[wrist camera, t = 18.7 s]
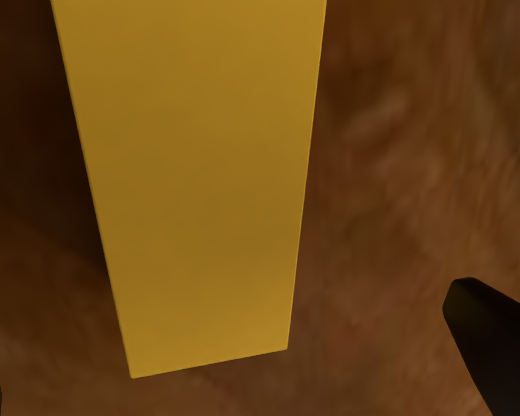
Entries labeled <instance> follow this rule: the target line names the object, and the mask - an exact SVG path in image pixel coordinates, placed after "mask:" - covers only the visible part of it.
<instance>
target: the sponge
mask: <svg viewBox="0 0 520 416" xmlns="http://www.w3.org/2000/svg"><path fill="white" fill-rule="evenodd" d="M50 1H51V6H52V10H53V15H54V20H55V25H56V29H57V34H58V39H59V43H60V48H61V53H62V58H63V62H64V67H65V72H66V76H67V81H68V86H69V90H70V95H71V100H72V105H73V109H74V114H75V119H76V123H77V128H78V133H79V137H80V142H81V147H82V152H83V156H84V161H85V166H86V170H87V175H88V180H89V185H90V189H91V194H92V199H93V203H94V208H95V213H96V217H97V222H98V227H99V232H100V236H101V241H102V246H103V250H104V255H105V260H106V265H107V269H108V274H109V279H110V283H111V288H112V293H113V297H114V302H115V307H116V312H117V316H118V321H119V326H120V330H121V335H122V340H123V344H124V349H125V354H126V359H127V363H128V368H129V373H130V377H131V378H138V377H143V376H148V375H154V374H159V373H164V372H169V371H175V370H180V369H185V368H190V367H196V366H201V365H206V364H211V363H217V362H222V361H227V360H232V359H238V358H243V357H248V356H253V355H259V354H264V353H269V352H274V351H280V350H285V349H287V345H288V336H289V328H290V319H291V310H292V301H293V292H294V284H295V275H296V266H297V257H298V248H299V240H300V231H301V222H302V213H303V204H304V196H305V187H306V178H307V169H308V160H309V152H310V143H311V134H312V125H313V116H314V108H315V99H316V90H317V81H318V72H319V64H320V55H321V46H322V37H323V28H324V20H325V11H326V2H327V0H50Z"/></svg>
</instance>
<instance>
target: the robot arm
mask: <svg viewBox="0 0 520 416" xmlns="http://www.w3.org/2000/svg"><path fill="white" fill-rule="evenodd" d="M443 315H444V318H445V320H446V322H447V325H448V327H449V329H450V331H451V333H452V336H453V338H454V340H455V342H456V344H457V347H458V349H459V351H460V353H461V355H462V358H463V360H464V362H465V364H466V366H467V369H468V371H469V373H470V375H471V377H472V379H473V381H474V383H475V385H476V387H477V388H478V390H479V392H480V394H481V396H482V397H483V399H484V401H485V403H486V404H487V406H488V408H489V409H490V411H491V413H492V415H493V416H520V303H519V302H517V301H515V300H513V299H512V298H510V297H508V296H506V295H504V294H503V293H501V292H499V291H497V290H496V289H494V288H492V287H490V286H488V285H487V284H485V283H483V282H481V281H480V280H478V279H476V278H473V277H467V278H461V279H456V280H454V281H453V282H452V283H451V286H450V288H449V291H448V293H447V296H446V298H445V301H444V303H443ZM1 403H2V392H1V387H0V415H1Z"/></svg>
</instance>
